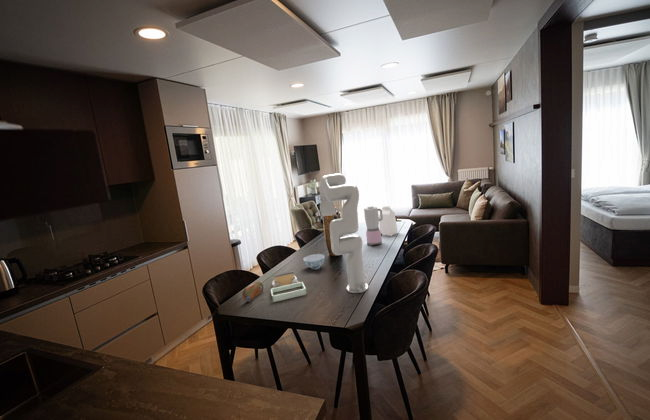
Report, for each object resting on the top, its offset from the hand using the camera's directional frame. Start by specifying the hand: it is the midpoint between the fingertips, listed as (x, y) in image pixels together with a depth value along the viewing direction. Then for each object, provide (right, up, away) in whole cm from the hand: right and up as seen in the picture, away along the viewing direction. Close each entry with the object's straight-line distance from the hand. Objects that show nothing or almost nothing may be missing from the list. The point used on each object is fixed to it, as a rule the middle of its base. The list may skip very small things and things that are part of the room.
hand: (329, 223), depth 212 cm
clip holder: (-28, -39, -19) cm, 51 cm away
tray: (-24, -40, -33) cm, 58 cm away
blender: (+40, -19, +44) cm, 62 cm away
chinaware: (-10, -32, +5) cm, 34 cm away
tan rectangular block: (-28, -38, -19) cm, 51 cm away
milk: (+56, -13, +69) cm, 90 cm away
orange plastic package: (-45, -43, -32) cm, 70 cm away
